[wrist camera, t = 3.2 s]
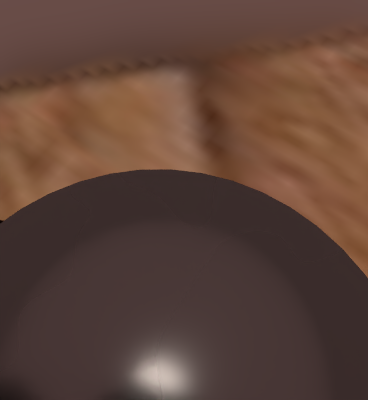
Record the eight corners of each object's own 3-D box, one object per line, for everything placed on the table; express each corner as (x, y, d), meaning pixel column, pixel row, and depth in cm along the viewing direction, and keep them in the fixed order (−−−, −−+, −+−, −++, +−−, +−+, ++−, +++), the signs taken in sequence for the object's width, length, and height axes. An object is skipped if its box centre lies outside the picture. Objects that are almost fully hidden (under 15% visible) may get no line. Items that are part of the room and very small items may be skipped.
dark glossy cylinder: (173, 381, 14) (109, 1049, 2) (108, 300, 15) (-238, 410, 3) (248, 309, 15) (553, 463, 3) (182, 235, 15) (177, 82, 3)
